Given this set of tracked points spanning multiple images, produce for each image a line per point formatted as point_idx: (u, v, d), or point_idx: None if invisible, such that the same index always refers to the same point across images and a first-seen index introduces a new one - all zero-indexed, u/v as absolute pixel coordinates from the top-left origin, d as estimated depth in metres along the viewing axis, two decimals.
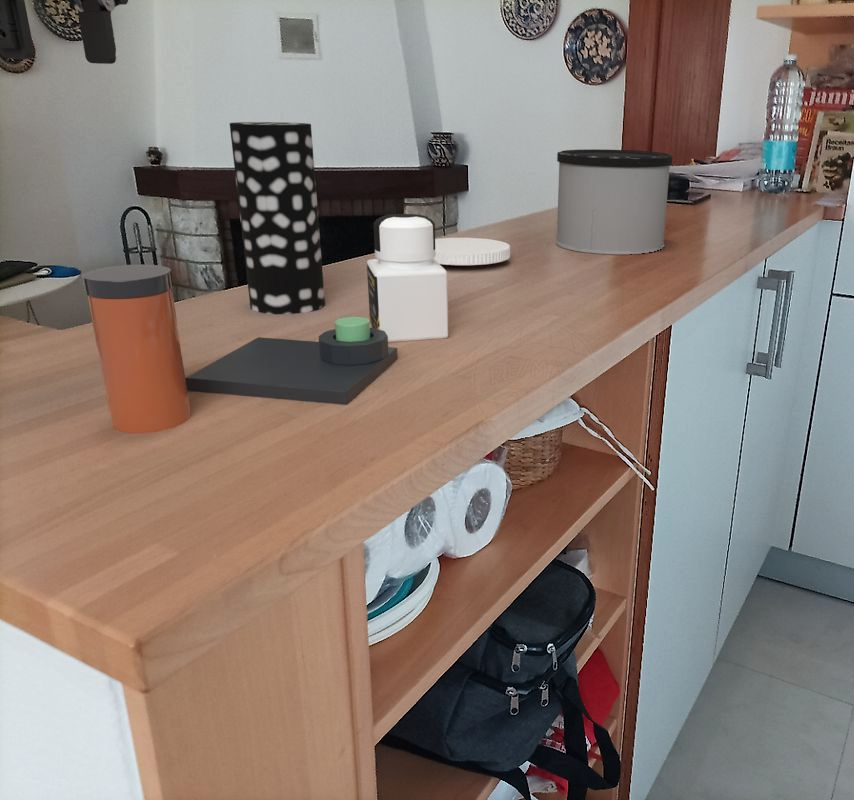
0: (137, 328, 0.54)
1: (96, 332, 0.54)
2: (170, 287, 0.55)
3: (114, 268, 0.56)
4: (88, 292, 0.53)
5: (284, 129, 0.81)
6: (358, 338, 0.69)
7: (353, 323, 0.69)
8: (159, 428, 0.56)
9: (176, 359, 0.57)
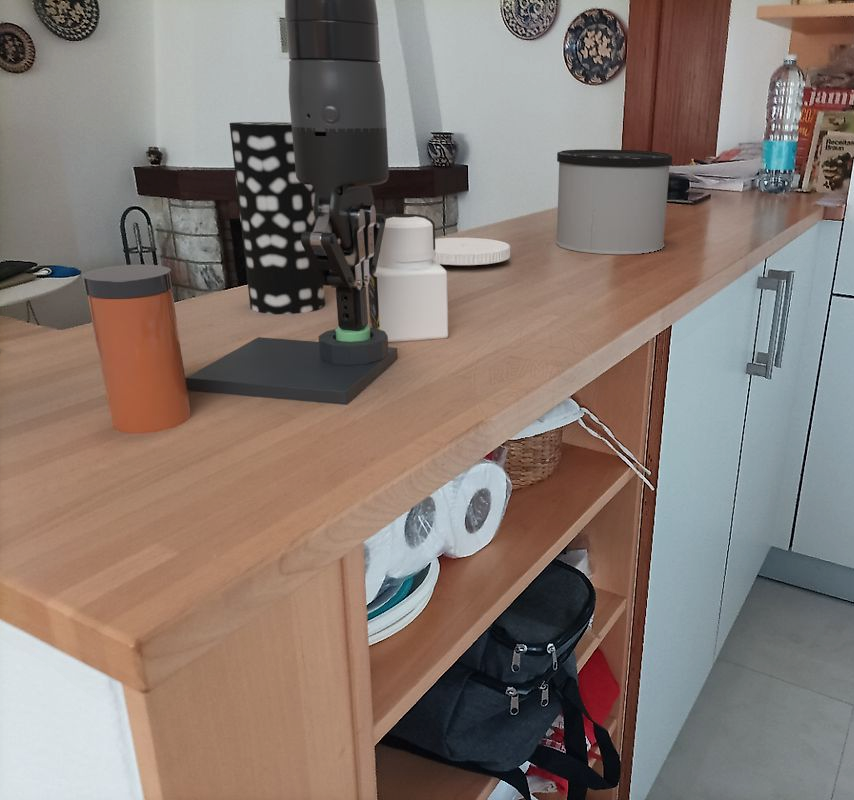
0: (137, 328, 0.54)
1: (96, 332, 0.54)
2: (170, 287, 0.55)
3: (114, 268, 0.56)
4: (88, 292, 0.53)
5: (284, 129, 0.81)
6: None
7: None
8: (159, 428, 0.56)
9: (176, 359, 0.57)
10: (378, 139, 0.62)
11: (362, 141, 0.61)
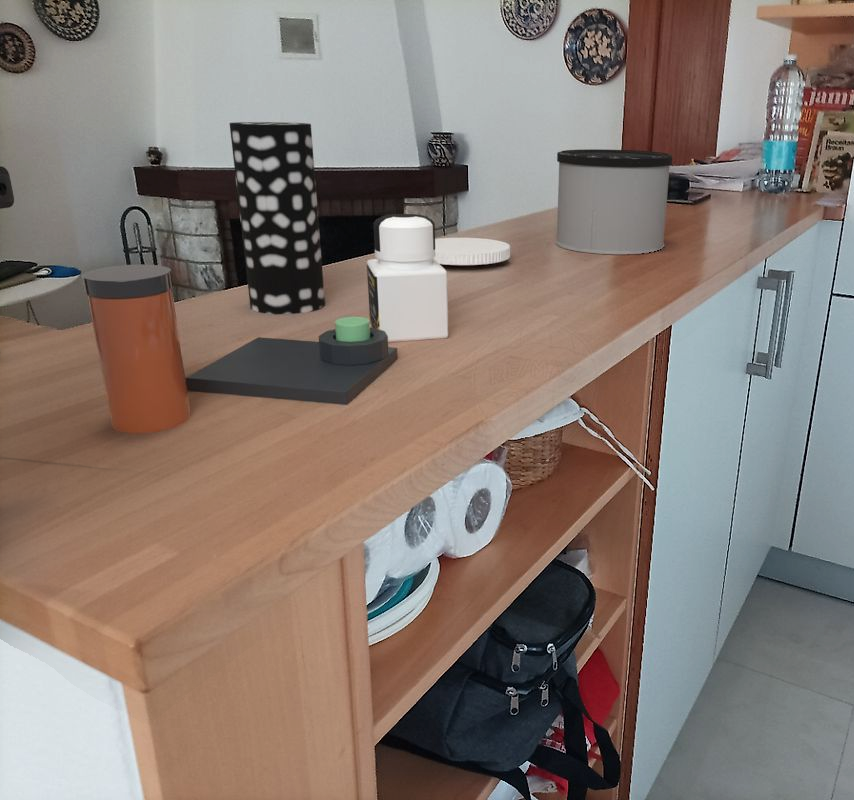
0: (137, 328, 0.54)
1: (96, 332, 0.54)
2: (170, 287, 0.55)
3: (114, 268, 0.56)
4: (88, 292, 0.53)
5: (284, 129, 0.81)
6: (358, 338, 0.69)
7: (353, 322, 0.69)
8: (159, 428, 0.56)
9: (176, 359, 0.57)
10: None
11: None
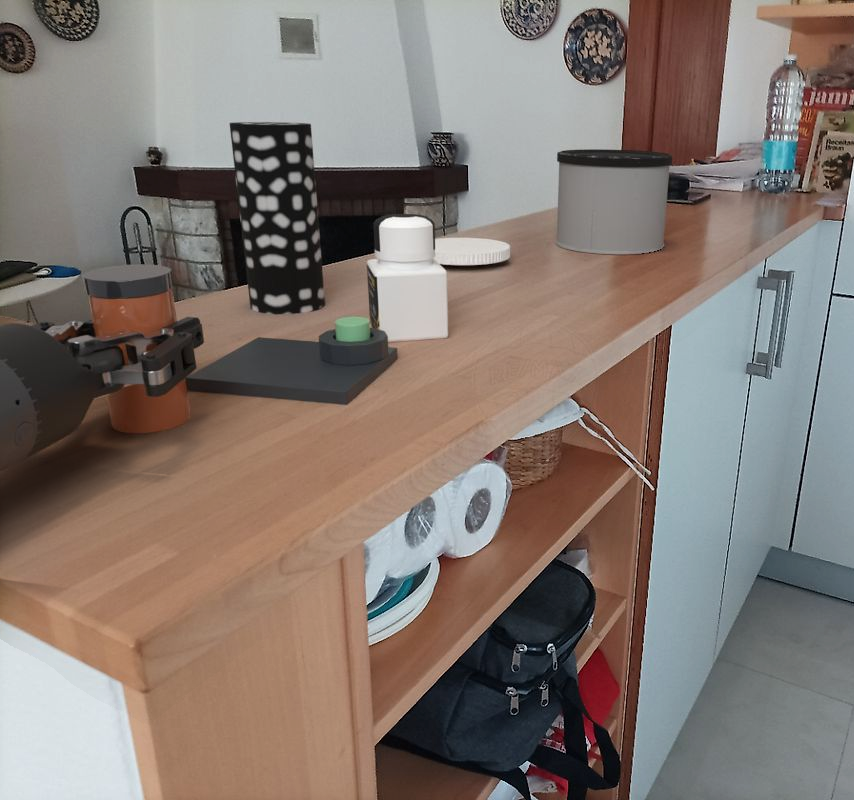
0: (137, 328, 0.54)
1: (96, 332, 0.54)
2: (170, 287, 0.55)
3: (114, 268, 0.56)
4: (88, 292, 0.53)
5: (284, 129, 0.81)
6: (358, 338, 0.69)
7: (353, 322, 0.69)
8: (159, 428, 0.56)
9: None
10: None
11: None
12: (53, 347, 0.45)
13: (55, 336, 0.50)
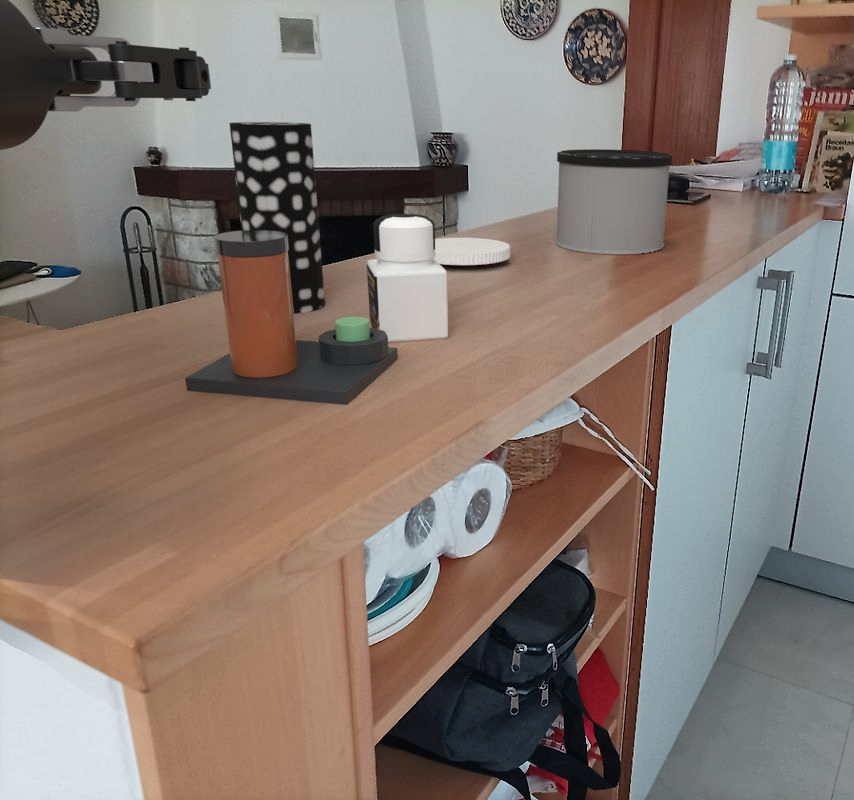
0: (262, 283, 0.62)
1: (225, 287, 0.62)
2: (287, 249, 0.63)
3: (238, 232, 0.64)
4: (221, 251, 0.61)
5: (284, 129, 0.81)
6: (358, 338, 0.69)
7: (353, 322, 0.69)
8: (275, 373, 0.65)
9: (290, 313, 0.65)
10: None
11: None
12: (5, 4, 0.35)
13: None
